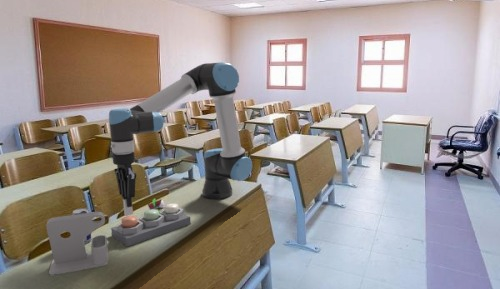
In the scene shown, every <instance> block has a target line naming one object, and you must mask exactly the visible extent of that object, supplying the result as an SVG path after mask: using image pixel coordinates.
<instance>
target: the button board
mask: <svg viewBox="0 0 500 289" xmlns="http://www.w3.org/2000/svg"><path fill="white" fill-rule="evenodd" d="M178 208H179V211H178V212H177V213H175V214H166V213H165V210H164V208H163V209H162V210H161V212H160V213H159V218H158V219H156V220H152V221H147V220H145V219H144V215H142V216H141V217H140V218H137V221H138V225H137V226H135V227H132V228H123V227H122V221H121V222H120V223H119V224H117V225H116V226H113V227H111V228H110V229H111V236H113V237H114V238H115V239H116V240H118V241H119V242H120V243H122V244H123V245H124V246H126V247H130V246H133V245H136V244H138V243H141V242H144V241H147V240H149V239H153V238H155V237H158V236H161V235H165V234H166V233H168V232H169V233H170V232H171V231H174V230H177V229H180V228H183V227H186V226H189V225H191V224H192V222H191V221H192V220H191V216H190V215H187V214H185V212H184V209H183V208H181V207H179V206H178Z"/></svg>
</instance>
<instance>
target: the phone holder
mask: <svg viewBox="0 0 500 289" xmlns="http://www.w3.org/2000/svg"><path fill="white" fill-rule="evenodd" d="M105 217H106V216H105V214H104V212H102V211H92V212H91V211H90V212H89V213H83V214H76V215H72V214H70V215H63V216H55V217H51V218H49V219H48V220H47V221H46V226H45V227H46V232H47V237H48V241H49V244H50V248H51V253H52V256H53V260H52V261H51V264H50V267H49V271H48V275H49V274H50V275H49V276H55V275H54V274H57V275H61V274H60V273H62V274H66V273H67V272H68V273H72V272H76V271H82V270H87V269H93V268H98V267H103V266H106V265H108V264H109V250H108V249H109V248H108V239H107V236H106V235H102V234H101V235H96V236H94V237H92V238H91V244H90V246H91V247H90V249H91V251H89V252H87V251H86V250H87V249H86V244H85V243H84V238H85V237H86V236H88V235H89V234H91V235H92V234H93V232H95V231H96V230H98V229H99V228H101V227H102V226H104V225H105V223H106V219H105ZM94 218H100V220H97V221H96V220H93V219H94ZM66 232H67V233H70V235H69V237H63V236H61V234H62V233H66Z"/></svg>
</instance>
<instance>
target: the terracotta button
mask: <svg viewBox="0 0 500 289" xmlns="http://www.w3.org/2000/svg"><path fill="white" fill-rule="evenodd" d="M137 219H138V217H137V216H135V215H128V216H125V217H122V218H121V220H120V221H121V222H122V227H123V228H132V227H135V226H137V225H138V221H137Z"/></svg>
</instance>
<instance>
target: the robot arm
mask: <svg viewBox="0 0 500 289" xmlns="http://www.w3.org/2000/svg"><path fill="white" fill-rule="evenodd" d="M239 83H240V75H239V73H238V69H236V67H235V66H234V65H233V64H231V63H228V62H211V63H209V62H208V63H207V62H206V63H202V64H199V65H198V66H196V67H193V68H192V69H191V70H188V71H187V72H185V73H184V74H183V73H182V75H181V76H180V79H178V80H176V81H174V82H173V83H172V84H169V85H168V86H167V87H165V88H163V89H161V90H160V91H158V92H156V93H155V94H153V95H151V96H149V97H148V98H146V99H145V100H143V101H141V102H140V103H138V104H136V105H135V106H132V107H130V108H114V109H111V110H109V113H108V124H109V133H110V139H111V140H110V143H111V144H110V148H111V152H112V164H114V165H115V166H116V168H114V169H113V171H114V173H115V176H116V183H117V188H118V192H119V195H120V196H121V198H122V204H123V212H124V213H123V214H124V216H125V217H127V216H132V215H133V214H134V210H133V198H135V196H136V178H137V173H136V172H134V173H133V166H132V164H134V163H135V162H136V158H135V157H136V155H135V152H134V151H135V142H134V135H137V134H148V133H155V132H158V131H161V130H162V129H163V127H164V117H163V115H162V112H163V111H165V110H166V109H168V108H170V107H171V106H173V105H175V104H177V103H178V102H179V101H181V100H182V99H184V98H185V97H187V96H189V95H195V94H197V93H198V92H201V91H206V90H208V95H209V97H210V98H211V99H213V104H214V108H215V113H216V119H217V124H218V132H219V136H220V142H221V148H212V149H208V150H206V151H204V153H203V157H204V158H203V163H204V183H203V187H202V190H201V194H202V197H204V198H206V199H212V200H219V199H220V200H221V199H226V198H229V197H231V196H232V195H233V187H232V184H231V182H230V180H232V181H236V182H237V181H238V182H241V181H242V182H243V181H245V180H247V178H249V176H250V174H251V173H252V169H253V162H252V159H251V158H250V157H248V156H247V155H246V150H245V148H244V147H242V145H241V138H240V132H239V126H238V119H237V112H236V107H235V100H234V95H235V94H236V92H237V91H236V89H237V87H238V86H239V85H238V84H239Z"/></svg>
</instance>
